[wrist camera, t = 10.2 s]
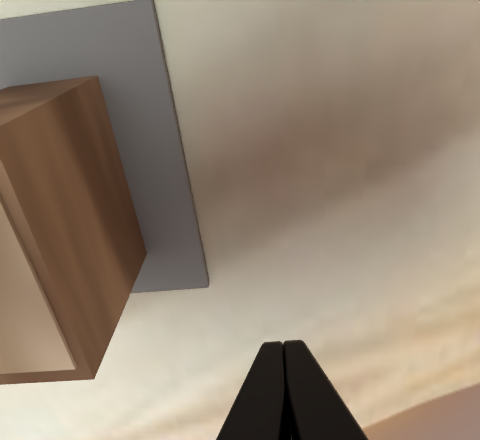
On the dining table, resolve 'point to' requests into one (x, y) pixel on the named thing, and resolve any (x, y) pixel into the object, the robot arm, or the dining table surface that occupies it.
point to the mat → (122, 119)
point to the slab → (61, 232)
